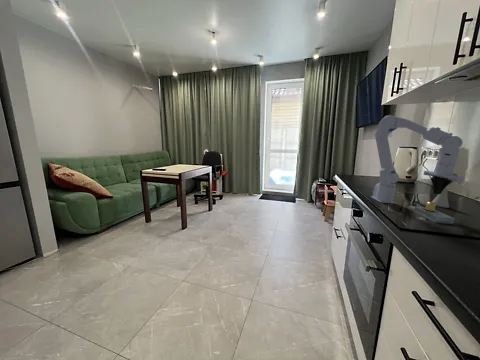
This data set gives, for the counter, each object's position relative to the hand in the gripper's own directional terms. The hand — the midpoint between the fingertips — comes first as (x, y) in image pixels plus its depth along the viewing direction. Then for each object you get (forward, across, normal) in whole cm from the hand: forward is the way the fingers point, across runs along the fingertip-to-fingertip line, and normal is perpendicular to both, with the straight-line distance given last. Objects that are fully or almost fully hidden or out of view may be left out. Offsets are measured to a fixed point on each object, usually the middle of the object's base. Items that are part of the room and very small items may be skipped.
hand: (436, 193), depth 90 cm
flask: (+10, -10, +18) cm, 23 cm away
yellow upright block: (+9, +2, -5) cm, 11 cm away
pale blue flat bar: (+9, +2, -5) cm, 11 cm away
